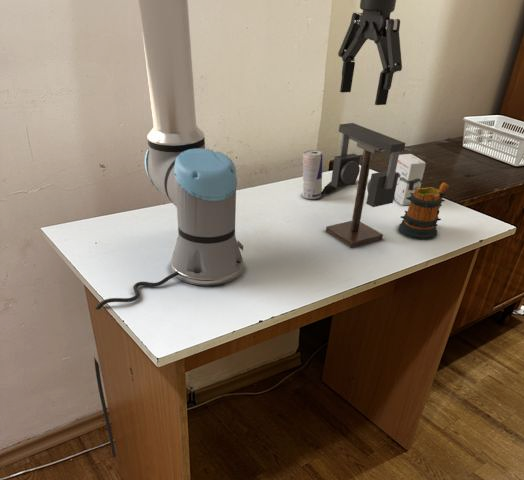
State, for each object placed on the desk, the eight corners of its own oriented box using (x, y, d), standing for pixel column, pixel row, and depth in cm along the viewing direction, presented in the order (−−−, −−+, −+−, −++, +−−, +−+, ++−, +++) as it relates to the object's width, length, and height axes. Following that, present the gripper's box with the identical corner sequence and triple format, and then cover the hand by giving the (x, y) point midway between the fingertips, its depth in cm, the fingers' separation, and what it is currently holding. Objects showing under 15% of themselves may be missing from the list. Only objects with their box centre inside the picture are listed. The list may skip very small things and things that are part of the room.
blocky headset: (376, 208, 113) (388, 145, 105) (328, 183, 125) (336, 124, 116) (395, 204, 116) (409, 142, 108) (347, 180, 127) (356, 122, 119)
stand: (351, 247, 121) (367, 153, 108) (325, 231, 128) (337, 140, 114) (382, 239, 126) (401, 147, 112) (355, 224, 132) (371, 135, 119)
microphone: (324, 208, 147) (357, 182, 159) (330, 192, 143) (364, 166, 154) (309, 198, 149) (343, 173, 160) (315, 182, 144) (350, 157, 155)
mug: (420, 244, 125) (432, 198, 118) (388, 229, 131) (398, 184, 124) (452, 232, 132) (465, 188, 125) (420, 218, 138) (431, 175, 131)
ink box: (387, 194, 151) (395, 154, 143) (401, 193, 152) (410, 153, 145) (401, 205, 144) (411, 163, 137) (416, 204, 145) (427, 162, 138)
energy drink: (324, 194, 147) (325, 151, 139) (316, 200, 143) (316, 156, 136) (308, 191, 149) (308, 149, 142) (299, 197, 145) (299, 154, 138)
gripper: (434, -6, 101) (409, 109, 114) (358, -15, 118) (344, 86, 131) (406, -8, 98) (383, 111, 111) (332, -17, 115) (319, 87, 128)
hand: (362, 98), depth 121 cm, fingers open, 13 cm apart
